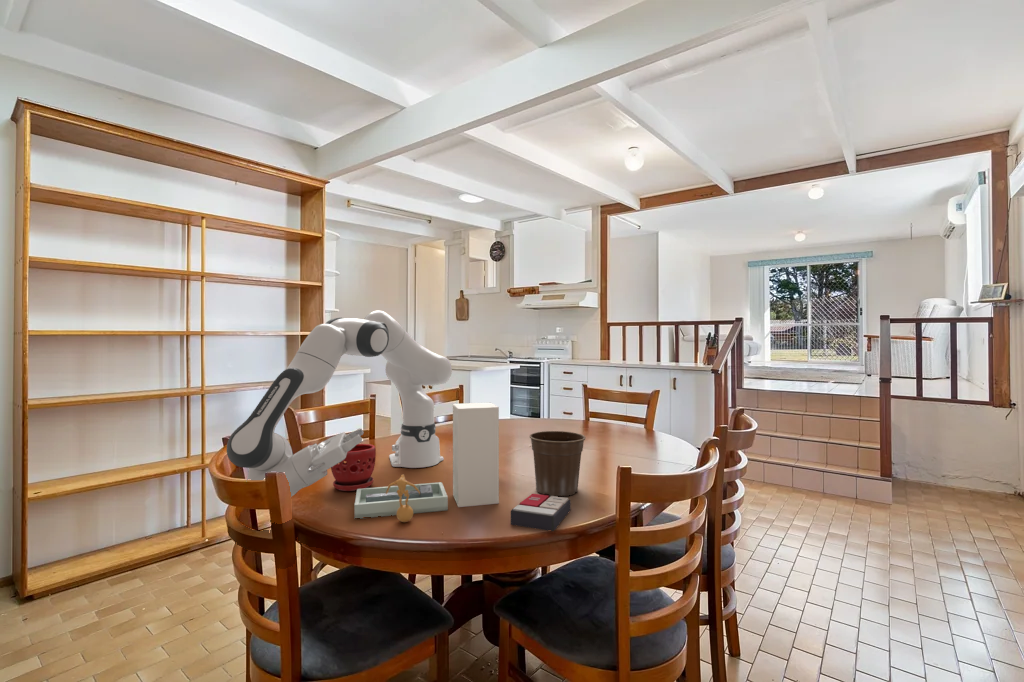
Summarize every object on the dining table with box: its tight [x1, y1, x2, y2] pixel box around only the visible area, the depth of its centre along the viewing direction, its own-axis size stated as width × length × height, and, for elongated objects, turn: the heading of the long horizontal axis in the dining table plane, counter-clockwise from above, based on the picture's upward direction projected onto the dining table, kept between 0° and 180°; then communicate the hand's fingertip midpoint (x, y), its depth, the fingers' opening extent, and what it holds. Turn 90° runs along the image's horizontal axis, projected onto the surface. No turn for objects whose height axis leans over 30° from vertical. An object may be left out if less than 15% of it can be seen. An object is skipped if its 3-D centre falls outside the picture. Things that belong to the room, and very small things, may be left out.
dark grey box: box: [510, 493, 572, 532], centre depth 119 cm, size 11×4×15 cm
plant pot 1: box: [330, 443, 377, 492], centre depth 144 cm, size 13×13×12 cm
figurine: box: [386, 474, 420, 523], centre depth 115 cm, size 8×6×12 cm
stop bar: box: [366, 485, 433, 503], centre depth 127 cm, size 7×17×3 cm, turn 105°
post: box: [452, 402, 500, 508], centre depth 132 cm, size 10×11×26 cm
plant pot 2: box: [529, 430, 586, 497], centre depth 140 cm, size 16×16×16 cm
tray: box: [354, 481, 449, 519], centre depth 127 cm, size 13×23×4 cm, turn 105°
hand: (361, 434), depth 124 cm, fingers open, 8 cm apart
